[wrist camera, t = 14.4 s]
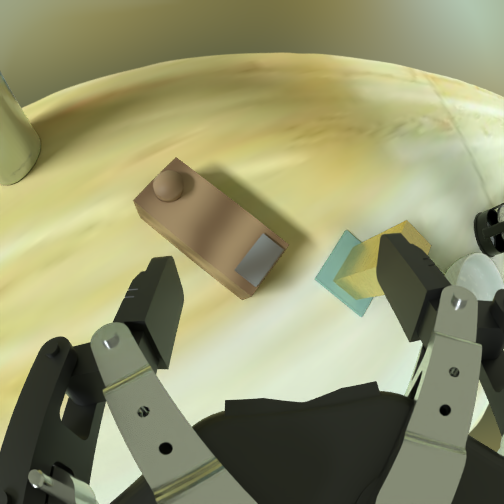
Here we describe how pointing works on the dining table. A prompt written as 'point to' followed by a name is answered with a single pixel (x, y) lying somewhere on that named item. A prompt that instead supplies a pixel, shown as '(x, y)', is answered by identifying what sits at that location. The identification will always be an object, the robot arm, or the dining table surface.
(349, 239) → the mat
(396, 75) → the dining table surface
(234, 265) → the body
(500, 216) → the french press
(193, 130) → the dining table surface
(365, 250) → the brushed brass block
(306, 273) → the dining table surface
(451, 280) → the cereal bowl
